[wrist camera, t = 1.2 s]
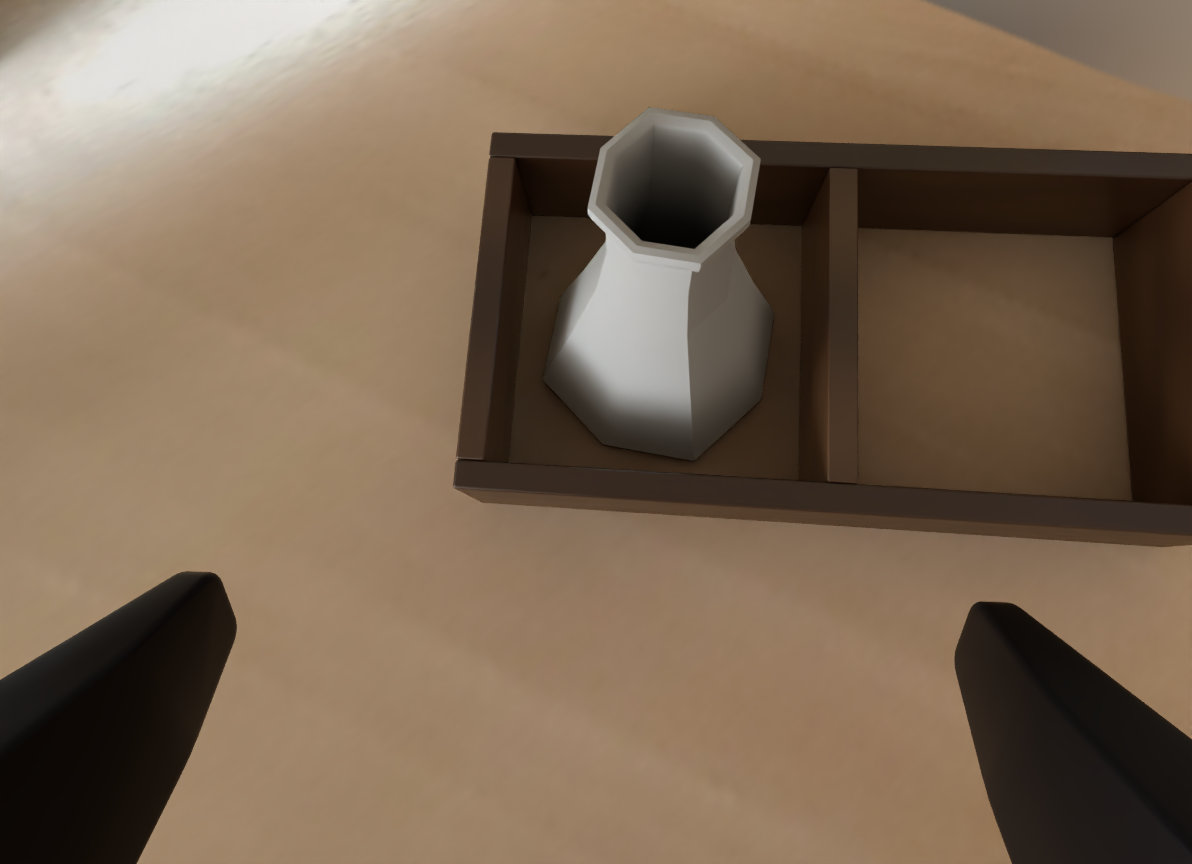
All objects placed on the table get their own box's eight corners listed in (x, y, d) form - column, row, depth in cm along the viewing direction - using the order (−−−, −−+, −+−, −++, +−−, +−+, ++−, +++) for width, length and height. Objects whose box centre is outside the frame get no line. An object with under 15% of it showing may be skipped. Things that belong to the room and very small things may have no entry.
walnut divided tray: (1163, 547, 21) (1264, 540, 18) (479, 502, 23) (451, 488, 19) (1135, 215, 23) (1220, 153, 20) (511, 193, 25) (491, 130, 21)
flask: (811, 306, 23) (936, 108, 14) (705, 501, 22) (759, 439, 13) (615, 210, 24) (600, -38, 15) (505, 392, 23) (411, 256, 14)
